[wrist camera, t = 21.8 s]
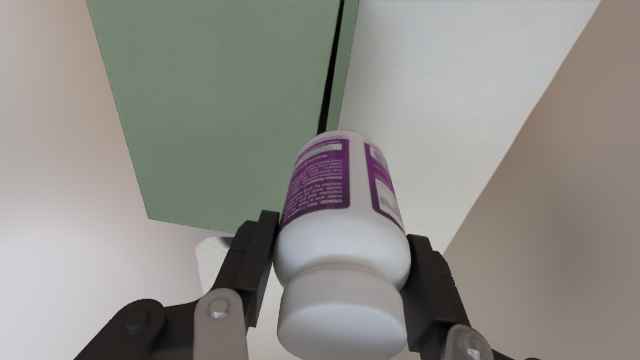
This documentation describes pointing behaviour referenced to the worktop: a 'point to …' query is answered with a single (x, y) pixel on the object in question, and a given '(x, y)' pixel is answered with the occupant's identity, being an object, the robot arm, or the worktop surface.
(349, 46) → the cupboard door
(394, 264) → the pill bottle
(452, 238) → the worktop surface
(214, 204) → the cupboard
